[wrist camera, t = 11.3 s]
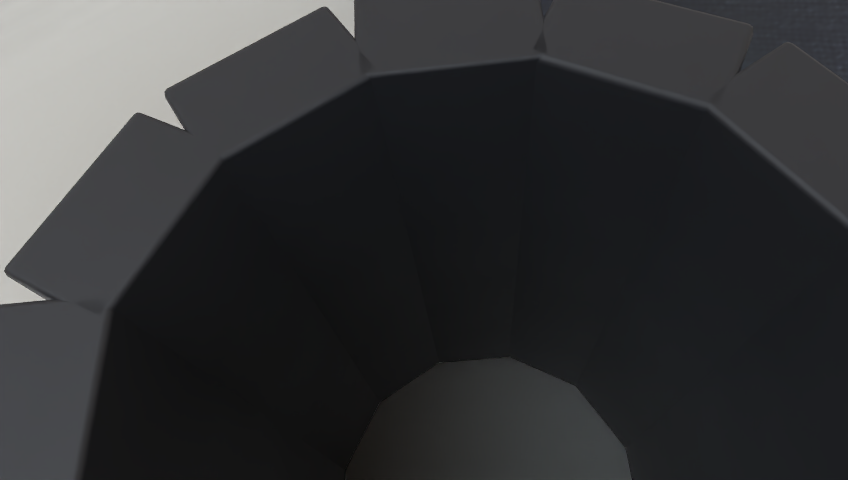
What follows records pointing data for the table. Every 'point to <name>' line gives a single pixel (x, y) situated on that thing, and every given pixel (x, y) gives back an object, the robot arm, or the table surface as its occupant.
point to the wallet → (783, 26)
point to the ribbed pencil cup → (448, 247)
